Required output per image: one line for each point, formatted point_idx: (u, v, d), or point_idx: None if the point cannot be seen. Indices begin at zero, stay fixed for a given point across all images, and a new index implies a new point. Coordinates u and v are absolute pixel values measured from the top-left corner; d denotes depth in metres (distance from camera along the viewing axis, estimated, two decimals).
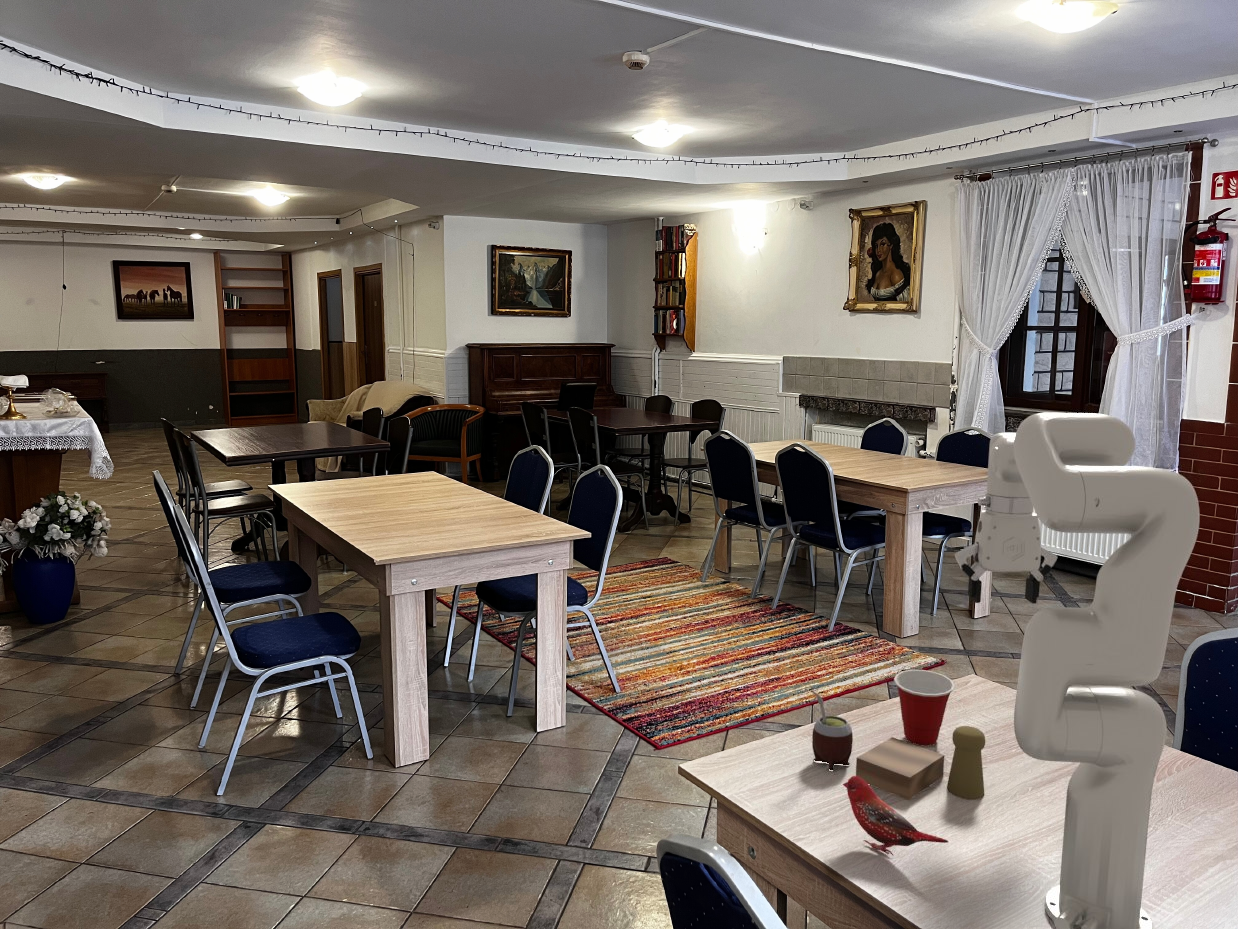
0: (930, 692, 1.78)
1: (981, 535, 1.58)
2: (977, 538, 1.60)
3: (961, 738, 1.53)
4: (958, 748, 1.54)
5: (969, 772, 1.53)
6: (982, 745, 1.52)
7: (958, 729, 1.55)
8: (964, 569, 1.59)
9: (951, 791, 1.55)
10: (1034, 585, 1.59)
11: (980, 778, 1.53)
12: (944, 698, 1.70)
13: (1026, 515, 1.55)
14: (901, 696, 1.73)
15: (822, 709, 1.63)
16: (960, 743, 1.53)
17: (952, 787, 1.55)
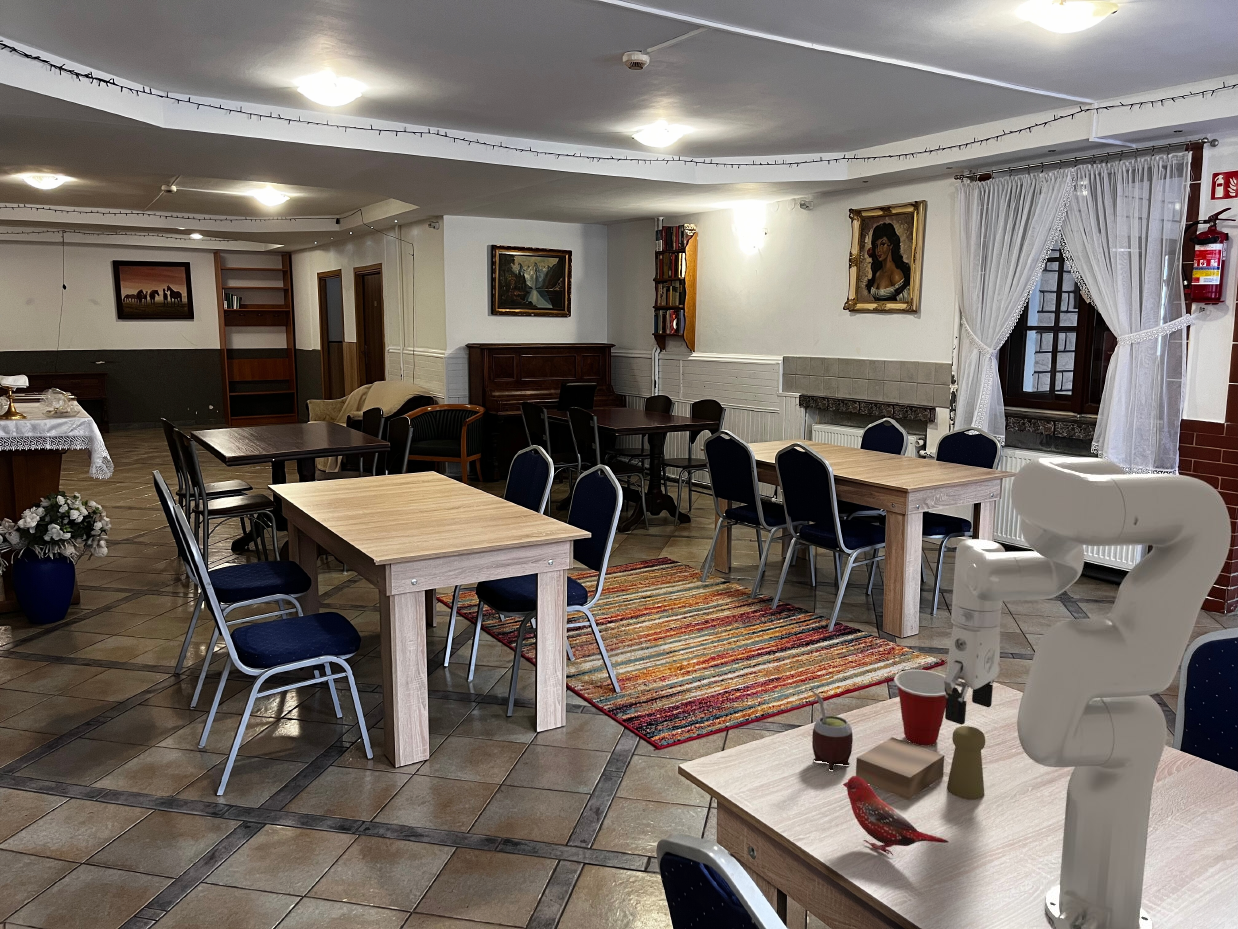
0: (930, 692, 1.78)
1: (967, 654, 1.48)
2: (956, 657, 1.50)
3: (961, 738, 1.53)
4: (958, 748, 1.54)
5: (969, 772, 1.53)
6: (982, 745, 1.52)
7: (958, 729, 1.55)
8: (955, 693, 1.48)
9: (951, 791, 1.55)
10: (991, 689, 1.56)
11: (980, 778, 1.53)
12: (944, 698, 1.70)
13: (999, 624, 1.51)
14: (901, 696, 1.73)
15: (822, 709, 1.63)
16: (959, 743, 1.53)
17: (952, 787, 1.55)
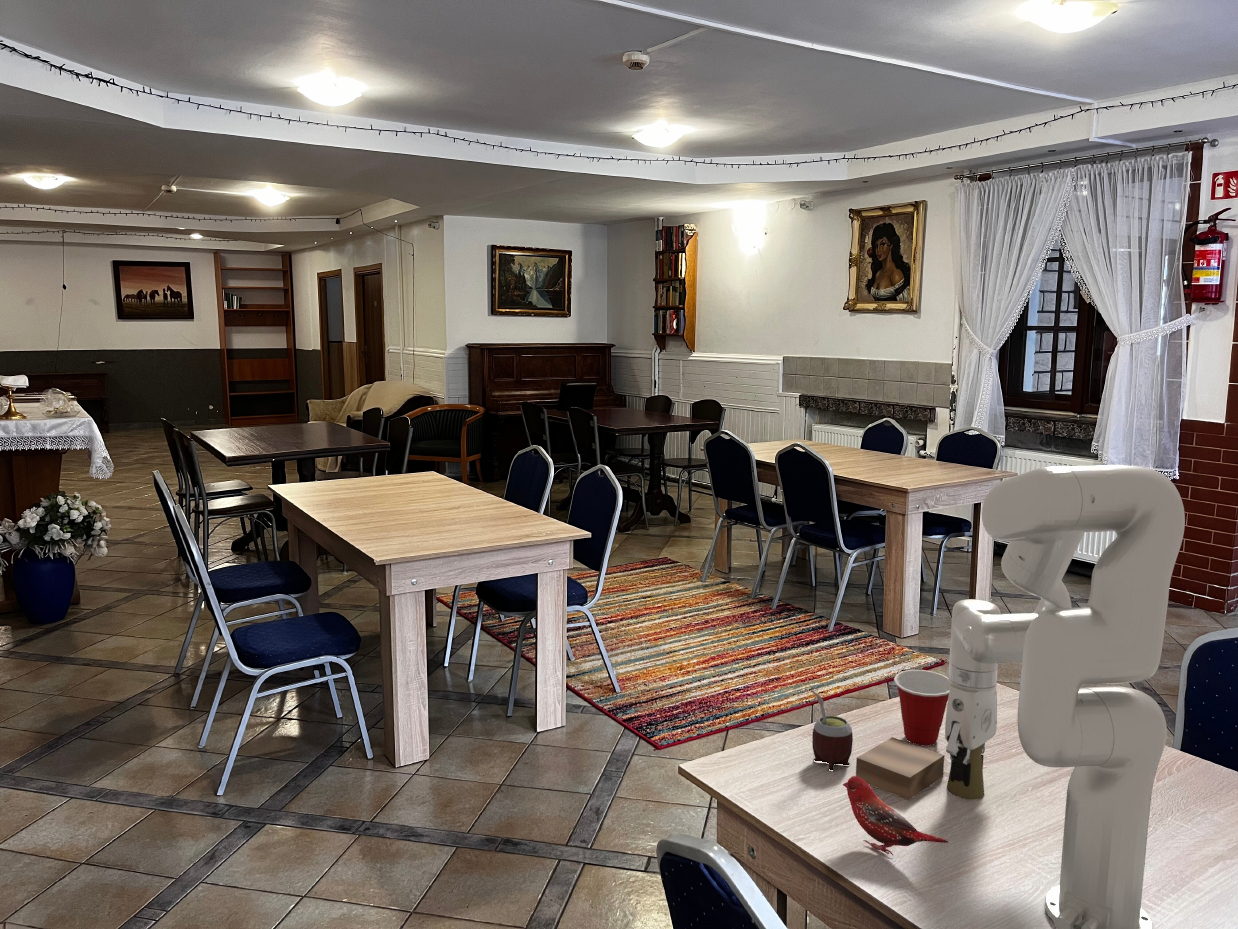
0: (930, 692, 1.78)
1: (964, 715, 1.49)
2: (954, 717, 1.51)
3: None
4: (958, 748, 1.54)
5: None
6: (982, 745, 1.52)
7: None
8: (960, 756, 1.51)
9: (951, 791, 1.55)
10: None
11: (980, 778, 1.53)
12: (944, 698, 1.70)
13: (996, 684, 1.52)
14: (901, 696, 1.73)
15: (822, 709, 1.63)
16: None
17: (952, 787, 1.55)
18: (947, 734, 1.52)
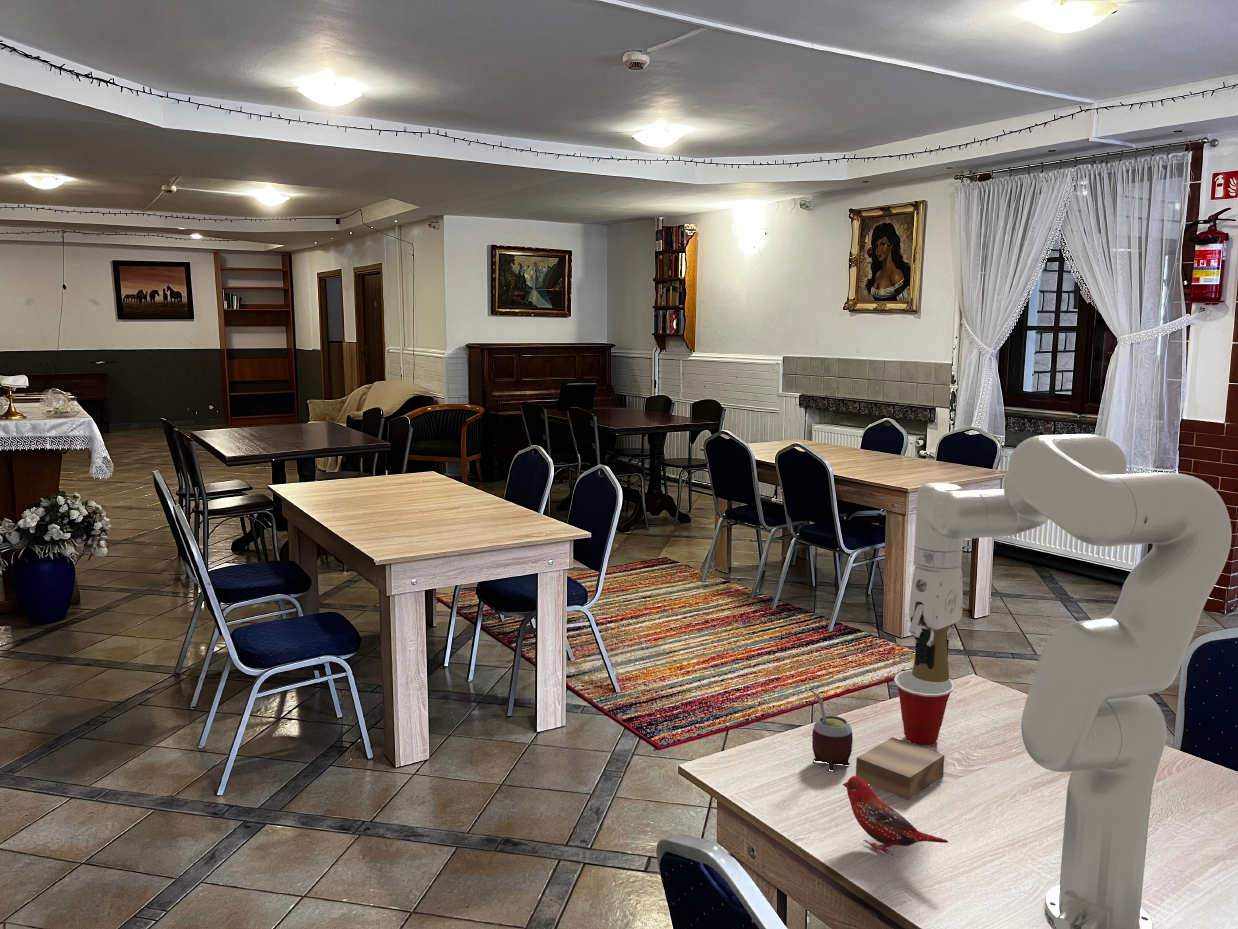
0: (930, 692, 1.78)
1: (927, 594, 1.50)
2: (917, 598, 1.51)
3: None
4: None
5: None
6: (946, 627, 1.53)
7: None
8: (923, 637, 1.51)
9: (915, 674, 1.55)
10: (947, 644, 1.55)
11: (944, 661, 1.53)
12: (944, 698, 1.70)
13: (960, 566, 1.52)
14: (901, 696, 1.73)
15: (822, 709, 1.63)
16: None
17: (916, 670, 1.55)
18: (911, 615, 1.52)
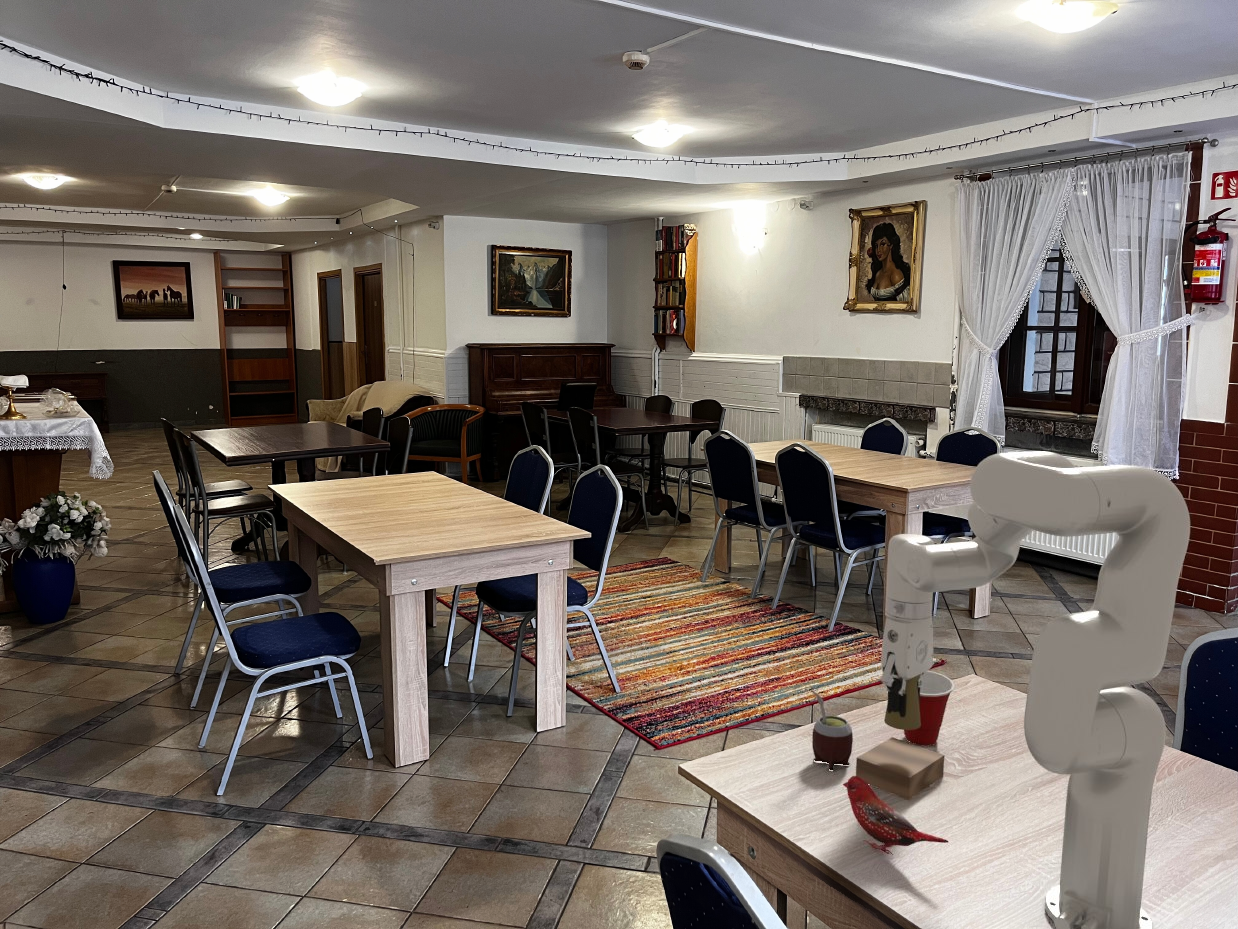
0: (930, 692, 1.78)
1: (899, 645, 1.52)
2: (889, 648, 1.54)
3: None
4: (894, 680, 1.57)
5: None
6: (917, 676, 1.55)
7: None
8: (895, 686, 1.54)
9: (888, 722, 1.58)
10: (918, 692, 1.58)
11: (916, 709, 1.56)
12: (944, 698, 1.70)
13: (931, 616, 1.55)
14: None
15: (822, 709, 1.63)
16: None
17: (888, 718, 1.58)
18: (883, 665, 1.55)
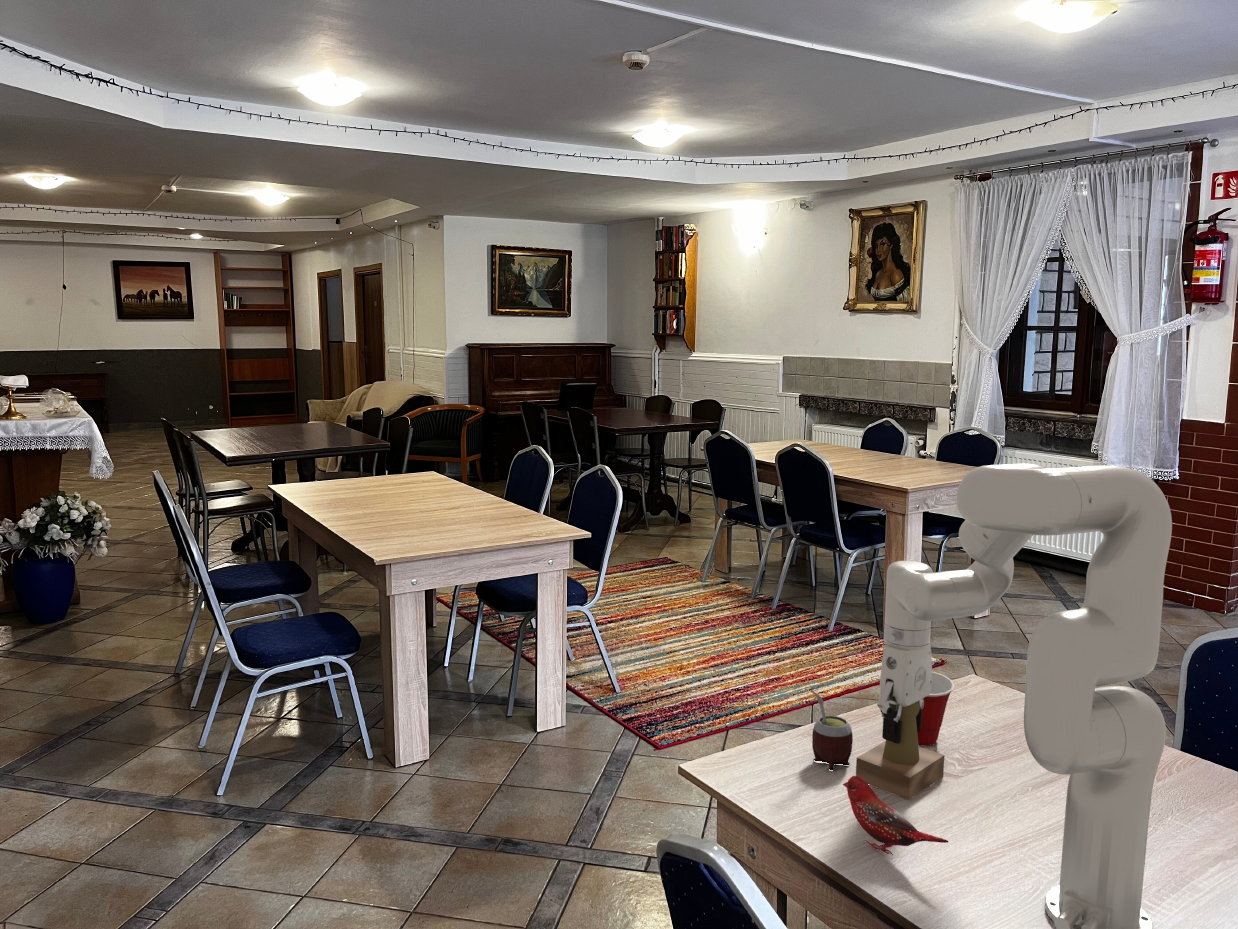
0: (930, 692, 1.78)
1: (897, 672, 1.53)
2: (887, 675, 1.54)
3: (895, 705, 1.57)
4: None
5: (903, 738, 1.56)
6: (916, 711, 1.56)
7: None
8: (890, 713, 1.54)
9: (886, 756, 1.58)
10: (920, 714, 1.60)
11: (914, 744, 1.57)
12: (944, 698, 1.70)
13: (929, 643, 1.55)
14: None
15: (822, 709, 1.63)
16: (894, 709, 1.57)
17: (887, 752, 1.58)
18: (881, 692, 1.55)
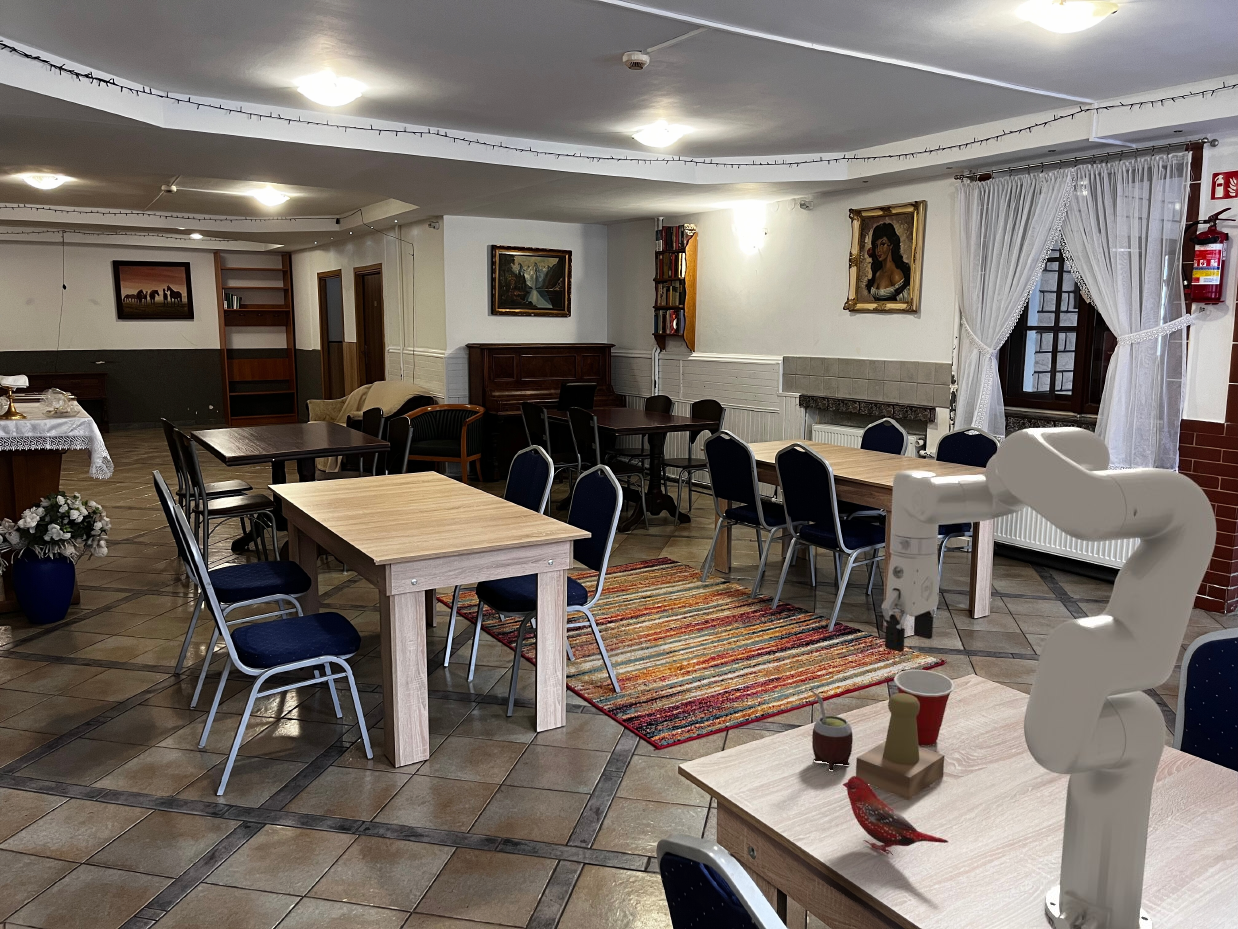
0: (930, 692, 1.78)
1: (904, 581, 1.51)
2: (894, 584, 1.52)
3: (895, 705, 1.56)
4: (893, 714, 1.57)
5: (903, 738, 1.56)
6: (916, 711, 1.56)
7: (893, 696, 1.58)
8: (893, 620, 1.50)
9: (886, 756, 1.58)
10: (931, 621, 1.58)
11: (914, 744, 1.57)
12: (944, 698, 1.70)
13: (936, 553, 1.53)
14: None
15: (822, 709, 1.63)
16: (894, 709, 1.57)
17: (887, 752, 1.58)
18: None
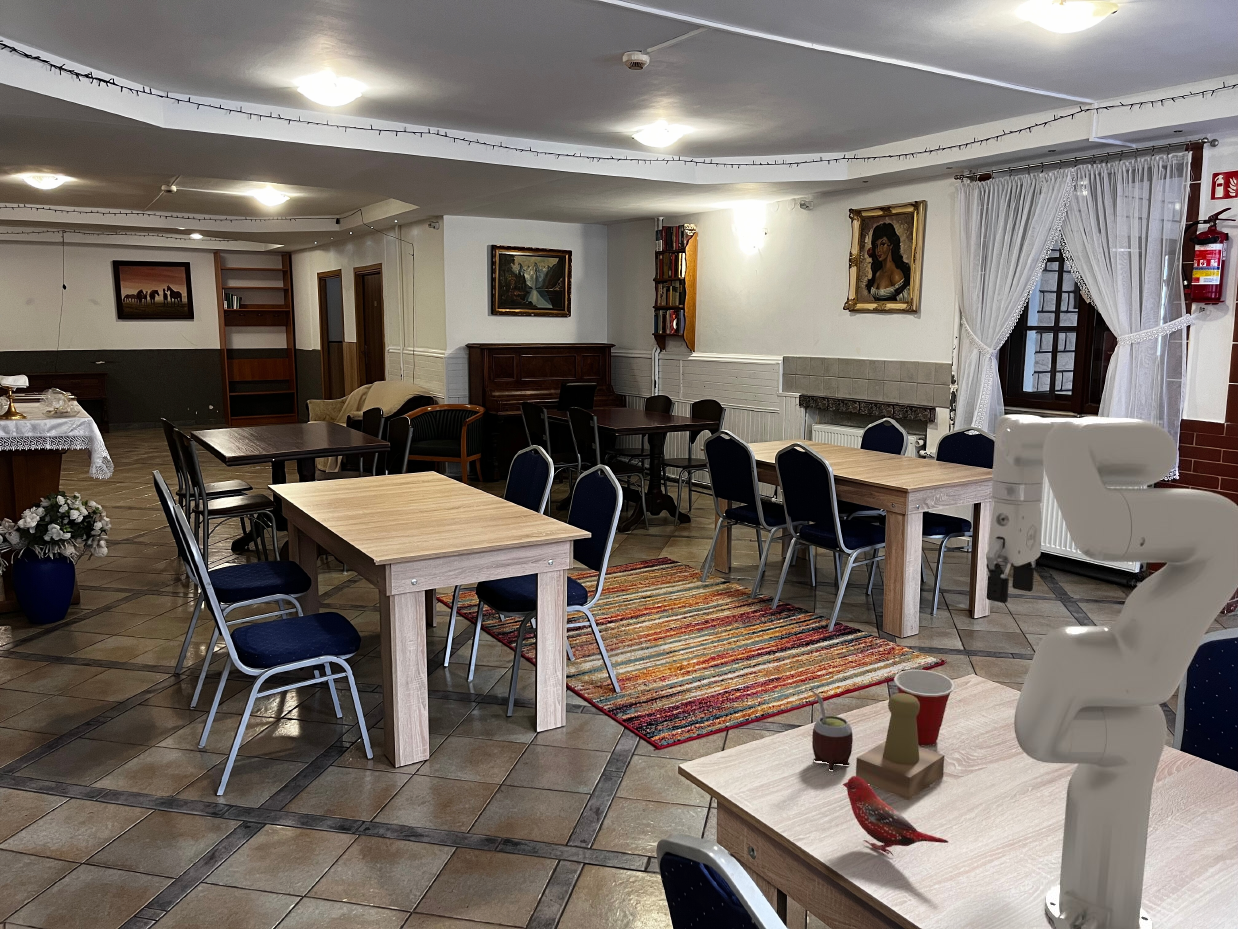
0: (930, 692, 1.78)
1: (1009, 528, 1.44)
2: (998, 532, 1.46)
3: (895, 705, 1.56)
4: (893, 714, 1.57)
5: (903, 738, 1.56)
6: (916, 711, 1.56)
7: (893, 696, 1.58)
8: (997, 569, 1.44)
9: (886, 756, 1.58)
10: (1032, 572, 1.52)
11: (914, 744, 1.57)
12: (944, 698, 1.70)
13: (1041, 500, 1.47)
14: None
15: (822, 709, 1.63)
16: (894, 709, 1.57)
17: (887, 752, 1.58)
18: None
